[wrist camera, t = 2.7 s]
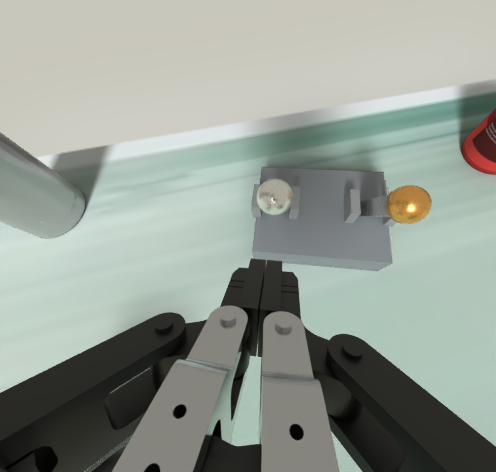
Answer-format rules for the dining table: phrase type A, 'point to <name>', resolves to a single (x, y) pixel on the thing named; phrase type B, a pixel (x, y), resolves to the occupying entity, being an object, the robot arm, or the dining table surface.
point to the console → (325, 220)
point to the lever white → (274, 197)
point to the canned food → (482, 146)
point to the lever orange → (399, 205)
